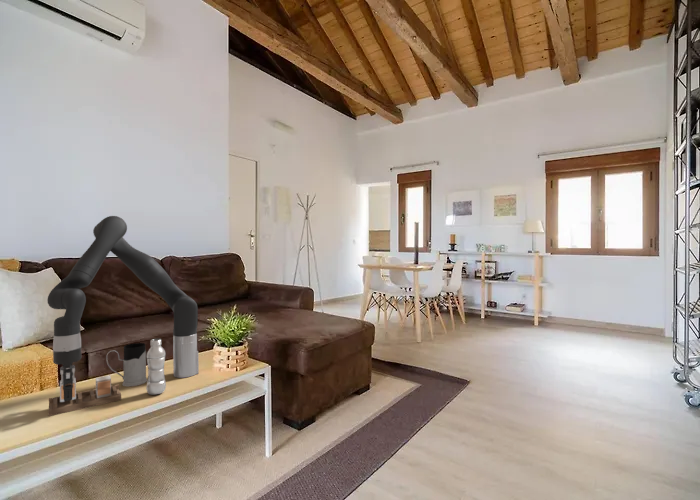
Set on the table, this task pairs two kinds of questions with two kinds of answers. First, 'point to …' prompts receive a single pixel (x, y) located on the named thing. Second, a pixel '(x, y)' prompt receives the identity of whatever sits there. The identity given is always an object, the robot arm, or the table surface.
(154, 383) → the plastic bottle
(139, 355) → the glass holder
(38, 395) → the table surface
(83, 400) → the brown wooden rack
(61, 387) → the wood-topped grey cube
